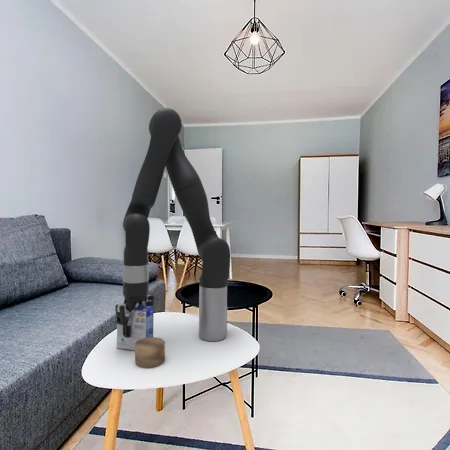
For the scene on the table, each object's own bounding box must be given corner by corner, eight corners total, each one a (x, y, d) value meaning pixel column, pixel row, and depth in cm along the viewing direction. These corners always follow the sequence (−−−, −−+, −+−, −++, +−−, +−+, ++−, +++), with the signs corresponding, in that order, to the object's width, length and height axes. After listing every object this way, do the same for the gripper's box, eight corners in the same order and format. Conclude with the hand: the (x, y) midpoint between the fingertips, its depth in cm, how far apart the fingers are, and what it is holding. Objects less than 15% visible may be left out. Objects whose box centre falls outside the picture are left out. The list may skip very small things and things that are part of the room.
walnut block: (149, 351, 93) (149, 335, 93) (170, 358, 89) (170, 341, 89) (128, 363, 86) (128, 345, 86) (151, 371, 82) (151, 352, 82)
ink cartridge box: (154, 344, 98) (154, 298, 97) (146, 352, 92) (146, 304, 92) (125, 341, 100) (125, 296, 99) (116, 348, 94) (115, 301, 94)
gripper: (126, 285, 87) (126, 344, 88) (161, 276, 99) (160, 328, 100) (107, 282, 91) (108, 338, 92) (143, 273, 103) (143, 323, 104)
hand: (135, 332), depth 96 cm, fingers closed on ink cartridge box, 6 cm apart
